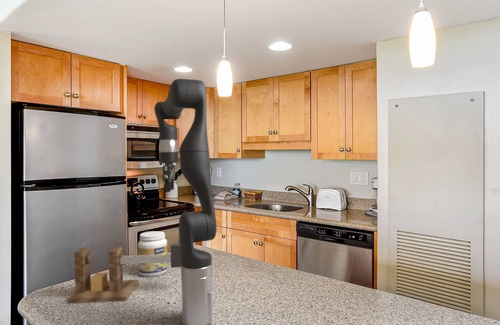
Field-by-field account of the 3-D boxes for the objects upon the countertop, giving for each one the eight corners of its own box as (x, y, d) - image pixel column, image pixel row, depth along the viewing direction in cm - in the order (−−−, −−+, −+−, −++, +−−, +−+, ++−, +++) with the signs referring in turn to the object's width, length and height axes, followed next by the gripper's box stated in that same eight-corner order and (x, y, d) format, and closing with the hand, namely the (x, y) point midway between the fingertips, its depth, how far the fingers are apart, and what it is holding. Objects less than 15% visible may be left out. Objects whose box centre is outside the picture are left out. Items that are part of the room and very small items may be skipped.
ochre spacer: (107, 272, 126) (96, 272, 126) (101, 277, 121) (90, 277, 121) (107, 285, 127) (97, 285, 126) (102, 290, 122) (91, 291, 121)
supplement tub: (157, 279, 137) (156, 237, 136) (132, 276, 141) (131, 235, 140) (173, 269, 148) (172, 231, 148) (149, 266, 152) (148, 229, 152)
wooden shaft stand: (138, 283, 132) (137, 243, 132) (126, 300, 116) (125, 255, 116) (86, 285, 131) (85, 244, 131) (67, 303, 115) (66, 257, 115)
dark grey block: (182, 264, 127) (182, 243, 127) (181, 267, 124) (181, 245, 124) (117, 266, 125) (116, 245, 125) (114, 269, 122) (113, 247, 122)
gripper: (175, 150, 129) (176, 192, 129) (180, 151, 143) (181, 188, 144) (155, 151, 129) (156, 193, 129) (162, 151, 143) (163, 189, 143)
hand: (169, 190), depth 136 cm, fingers open, 8 cm apart
